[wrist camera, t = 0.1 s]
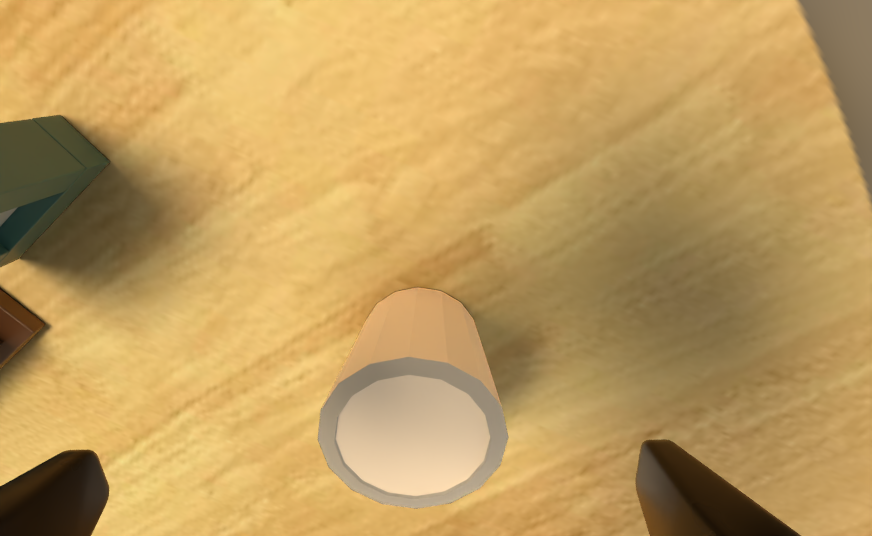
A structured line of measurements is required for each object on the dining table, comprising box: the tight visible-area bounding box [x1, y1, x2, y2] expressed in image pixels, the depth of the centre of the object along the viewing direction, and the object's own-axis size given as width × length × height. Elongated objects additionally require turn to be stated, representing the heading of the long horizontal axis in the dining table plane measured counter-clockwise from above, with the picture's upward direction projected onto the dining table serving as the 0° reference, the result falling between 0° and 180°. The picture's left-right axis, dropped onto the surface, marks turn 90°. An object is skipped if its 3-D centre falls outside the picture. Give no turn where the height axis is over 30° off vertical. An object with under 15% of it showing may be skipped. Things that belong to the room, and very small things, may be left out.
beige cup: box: [318, 287, 508, 509], centre depth 21 cm, size 7×7×7 cm
